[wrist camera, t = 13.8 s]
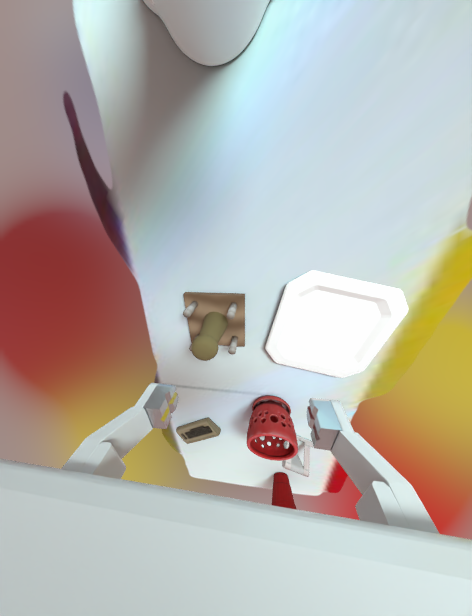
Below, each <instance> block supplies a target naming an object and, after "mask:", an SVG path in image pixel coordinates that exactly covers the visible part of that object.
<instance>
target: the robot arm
mask: <svg viewBox="0 0 472 616" xmlns="http://www.w3.org/2000/svg"><path fill="white" fill-rule="evenodd" d="M143 1H144V3H145V4H146V5H147V6H148V7H149V8H150V9H151V10H152V11H153V12H154V13H155V14H157V15H158V16H159V17H160V18H161V19H162V21H163V22H164V24H165V25H166V27H167V29H168V31H169V33H170V35H171V37H172V38H173V40H174V42H175V43H176V44H177V46H178V47H179V48H180V49H181V51H182V52H183V53H184V54H185V55H187V56H188V57H189V58H190V59H192V60H193V61H195V62H197V63H199V64H202V65H207V66H217V65H221V64H224V63H227V62H229V61H230V60H232V59H233V58H235V57H236V56H237V55H239V54H240V53H241V52H242V51H243V50H244V48H245V47H246V46H247V45H248V43H249V42H250V41H251V39H252V38H253V36H254V34H255V32H256V31H257V29H258V27H259V24H260V22H261V20H262V17H263V15H264V12H265V10H266V7H267V5H268V3H269V1H270V0H143ZM175 391H176V387H175V385H166V384H158V383H151V384H150V385H149V386H148V387H147V389H146V390H145V392H144V393H143V394H142V396H141V397H140V399H139V400H138V402H137V403H136V405H135V406H134V407H131V408H129V409H128V410H126V411H125V412H123V413H122V414H121V415H119V416H118V417H116V418H115V419H113V420H112V421H110V422H109V423H107V424H106V425H105V426H103V427H102V428H100V429H99V430H97V431H96V432H94V433H93V434H91V435H90V436H89V437H87V438H86V439H85V440H84V441H83V443H82V444H81V445H80V446H79V447H78V449H77V450H76V451H75V452H74V454H73V455H72V456H71V457H70V459H69V460H68V461H67V462H66V464H65V465H64V466H63V467H62V469H58V468H52V467H46V466H40V465H34V464H28V463H22V462H17V461H11V460H6V459H0V616H472V540H471V539H465V538H459V537H454V536H448V535H441V534H439V532H438V531H437V528H436V527H435V525H434V523H433V521H432V520H431V518H430V516H429V515H428V513H427V511H426V510H425V508H424V506H423V504H422V502H421V501H420V499H419V497H418V495H417V494H416V492H415V490H414V489H413V487H412V485H411V484H410V483H409V482H408V481H407V480H405V478H404V477H403V476H401V475H400V474H399V473H398V472H397V471H396V470H395V469H394V468H393V467H392V466H391V465H390V464H389V463H388V462H387V461H386V460H385V459H384V458H383V457H382V456H381V455H380V454H379V453H378V452H377V451H376V450H375V449H374V448H373V447H372V446H370V445H369V444H368V443H367V442H366V441H365V440H364V439H363V438H362V437H361V436H360V435H359V434H358V433H355V432H354V430H353V428H352V426H351V424H350V422H349V419H348V417H347V415H346V413H345V411H344V408H343V406H342V404H341V402H340V401H338V400H328V399H316V398H310V400H309V404H310V406H309V407H308V408H307V421H308V425H309V426H310V428H311V429H312V431H311V438H312V442H313V446H314V448H317V449H324V450H330V451H331V452H332V454H333V455H334V456H335V458H336V459H337V461H338V462H339V463H340V465H341V466H342V467H343V469H344V470H345V471H346V473H347V474H348V476H349V477H350V478H351V480H352V481H353V482H354V484H355V485H356V486H357V488H358V489H359V491H360V492H361V493H362V495H363V496H362V497H361V498H360V500H359V501H358V502H357V504H356V506H355V507H356V510H357V513H358V516H359V519H360V520H354V519H349V518H342V517H337V516H331V515H326V514H320V513H314V512H308V511H302V510H297V509H291V508H285V507H279V506H273V505H267V504H262V503H256V502H249V501H244V500H238V499H233V498H227V497H221V496H215V495H209V494H203V493H197V492H192V491H186V490H180V489H174V488H168V487H163V486H157V485H151V484H145V483H138V482H133V481H127V480H122V479H121V477H122V475H123V473H124V472H125V470H126V466H125V464H124V463H123V461H122V460H121V459H122V458H123V457H124V456H125V455H126V454H127V453H128V452H129V451H130V450H131V449H132V448H133V447H134V446H135V445H136V444H137V443H138V442H139V441H140V440H142V439H143V438H144V437H145V436H146V435H147V434H148V433H149V432H150V431H151V430H152V428H161V429H167V426H168V424H169V422H170V420H171V418H172V417H171V413H172V412H173V411H174V410H175V409H176V406H177V403H178V394H177V393H176V392H175Z"/></svg>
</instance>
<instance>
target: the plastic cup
mask: <svg viewBox="0 0 472 616" xmlns="http://www.w3.org/2000/svg"><path fill="white" fill-rule="evenodd" d="M272 496H273V497H272V505H273V506H279V507H285V508H291V509H296V506H295V504H294V500H293V495H292V491H291V487H290V484H289V479H288V476H287V474H285V473H281V472H278V473H275V474H274V482H273V495H272Z"/></svg>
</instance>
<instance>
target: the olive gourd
mask: <svg viewBox="0 0 472 616" xmlns="http://www.w3.org/2000/svg"><path fill="white" fill-rule="evenodd" d="M227 326H228V321H227V318H226V317H225V316H224V315H223V314H221V313H219V312H209V313H208V314H206V316H205V317H204V320H203V324H202V327H201V330H200V333H199V336H197V337H196V338H195V339H194V340H193V342H192V346H191V349H192V353H193V355H194V356H195V357H196V358H198V359H200V360H205V361H206V360H210V359H212V358H214V357H215V355H216V354H217V351H218V343H219V341H220V339H221V337H222V336H223V334H224V332H225V330H226V329H227Z"/></svg>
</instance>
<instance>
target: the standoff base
mask: <svg viewBox="0 0 472 616" xmlns="http://www.w3.org/2000/svg"><path fill="white" fill-rule="evenodd" d="M183 295H184V301H185V306H186V309H185V311H184V312H183V315H184V316H185V317H187V318H188V324H189V330H190V336H191V342H193V340H194V339H195V338H196V337H197V336H199V333H200V330H201V327H202V324H203V320H204V317H205V316H206V314H208V313H209V312H219V313H221V314H223V315H224V316H225V317H226V318H227V321H228V326H227V329H226V330H225V332H224V334H223V336H222V337H221V339H220V341H219V343H218V345H228V346H230V347H229V351H228V352H229V353H230V354H235V352H236V347H237V346H245V294H236V293H199V292H185V293H184V294H183ZM191 346H192V344H191ZM191 346H190V348H189V349H190V351H192V349H191Z"/></svg>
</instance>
